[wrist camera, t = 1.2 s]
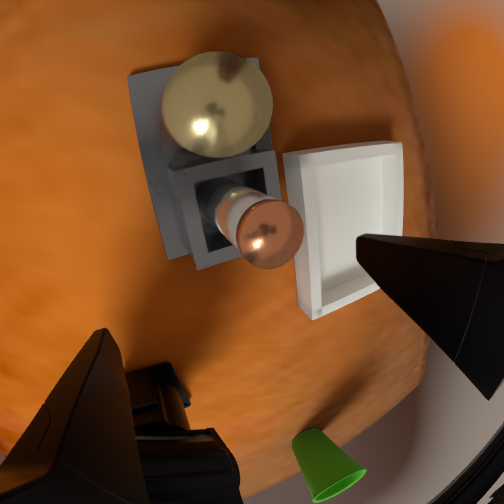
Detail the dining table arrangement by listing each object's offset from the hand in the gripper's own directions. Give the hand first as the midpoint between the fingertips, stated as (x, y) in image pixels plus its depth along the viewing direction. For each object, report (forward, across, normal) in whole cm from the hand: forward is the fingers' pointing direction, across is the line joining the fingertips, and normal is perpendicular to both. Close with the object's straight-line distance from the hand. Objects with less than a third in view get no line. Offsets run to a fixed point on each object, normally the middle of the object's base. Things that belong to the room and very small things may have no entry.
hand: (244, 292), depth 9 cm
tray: (+12, -13, +5) cm, 19 cm away
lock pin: (+12, -2, 0) cm, 12 cm away
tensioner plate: (+12, -3, -3) cm, 13 cm away
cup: (+12, -7, +39) cm, 41 cm away
